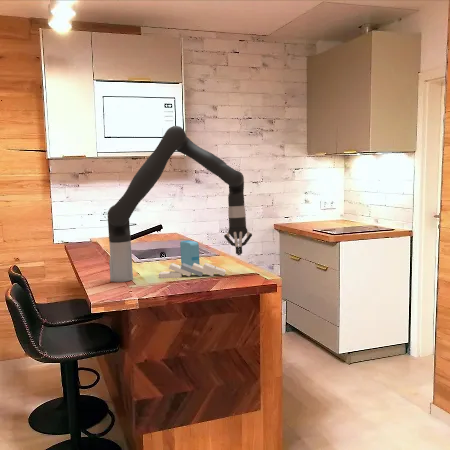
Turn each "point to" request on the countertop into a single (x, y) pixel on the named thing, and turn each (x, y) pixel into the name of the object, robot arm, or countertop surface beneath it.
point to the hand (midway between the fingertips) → (239, 254)
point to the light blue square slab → (189, 252)
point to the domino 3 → (190, 269)
